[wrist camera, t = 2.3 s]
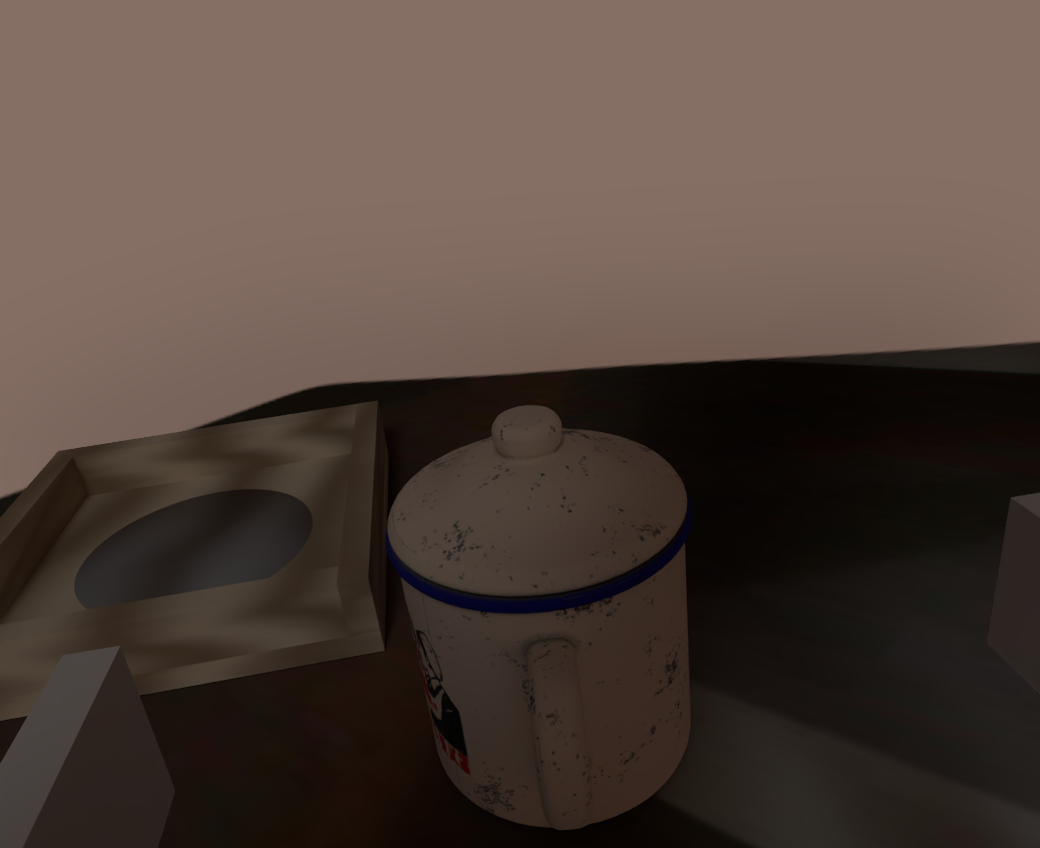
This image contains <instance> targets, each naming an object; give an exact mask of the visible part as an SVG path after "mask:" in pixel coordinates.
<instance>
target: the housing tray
mask: <svg viewBox="0 0 1040 848" xmlns="http://www.w3.org/2000/svg"><path fill="white" fill-rule="evenodd" d="M388 455H389V454H388V449H387V444H386V439H385V434H384V430H383V425H382V420H381V415H380V410H379V405H378V401H373V402H366V403H360V404H354V405H347V406H341V407H335V408H328V409H322V410H316V411H309V412H303V413H297V414H290V415H284V416H278V417H271V418H265V419H259V420H252V421H246V422H240V423H233V424H227V425H221V426H214V427H208V428H202V429H195V430H189V431H183V432H177V433H170V434H164V435H157V436H151V437H145V438H138V439H132V440H126V441H119V442H113V443H107V444H100V445H94V446H88V447H81V448H75V449H69V450H62V451H58V452H57V453H56V455H55V456H54V457H53V458H52V459H51V460H50V461H49V462H48V464H47V465H46V466H45V467H44V468H43V470H42V471H41V472H40V473H39V474H38V475H37V476H36V477H35V479H34V480H33V481H32V482H31V483H30V484H29V485H28V487H27V488H26V489H25V490H24V491H23V492H22V493H21V495H20V496H19V497H18V498H17V499H16V500H15V502H14V503H13V504H12V505H11V506H10V507H9V508H8V510H7V511H6V512H5V513H4V514H3V515H2V516H1V518H0V721H2V720H7V719H13V718H18V717H24V716H28V715H29V713H30V712H31V710H32V708H33V706H34V705H35V703H36V701H37V699H38V698H39V696H40V694H41V692H42V691H43V689H44V687H45V685H46V684H47V682H48V680H49V679H50V677H51V675H52V673H53V672H54V670H55V668H56V666H57V665H58V663H59V661H60V659H61V658H62V656H63V655H67V654H73V653H79V652H85V651H91V650H97V649H103V648H109V647H115V646H121V649H122V651H123V654H124V656H125V659H126V662H127V664H128V667H129V670H130V672H131V675H132V678H133V680H134V683H135V686H136V688H137V691H138V694H139V695H144V694H150V693H155V692H161V691H166V690H172V689H177V688H183V687H188V686H194V685H199V684H205V683H210V682H216V681H221V680H227V679H232V678H238V677H243V676H249V675H254V674H260V673H265V672H271V671H276V670H282V669H287V668H293V667H298V666H303V665H309V664H314V663H320V662H325V661H331V660H336V659H342V658H347V657H353V656H358V655H364V654H369V653H375V652H380V651H385V616H386V562H387V550H386V543H385V535H386V528H387V509H388Z"/></svg>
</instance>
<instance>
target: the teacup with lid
mask: <svg viewBox="0 0 1040 848" xmlns="http://www.w3.org/2000/svg"><path fill="white" fill-rule="evenodd" d="M691 524H692V506H691V501H690V498H689V495H688V493H687V492H686V490H685V487H684V484H683V482H682V480H681V479H680V477H679V475H678V474H677V473H676V471H675V470H674V469H673V468H672V466H671V465H670V464H669V463H668V462H667V461H666V460H665V459H664V458H662V457H661V456H660V455H658V454H657V453H656V452H654V451H652V450H651V449H649V448H647V447H645V446H643V445H641V444H639V443H637V442H634V441H631V440H629V439H626V438H623V437H620V436H616V435H612V434H607V433H602V432H596V431H588V430H577V429H565V428H562V425H561V420H560V418H559V417H558V415H557V414H556V413H555V412H554V411H552V410H551V409H549V408H547V407H543V406H536V405H526V406H519V407H515V408H512V409H509V410H507V411H504V412H503V413H501V414H500V415H499V416H498V417H497V418H496V420H495V421H494V423H493V426H492V437H490V438H488V439H485V440H481V441H478V442H475V443H472V444H469V445H467V446H464V447H461V448H459V449H457V450H454V451H452V452H450V453H448V454H446V455H444V456H442V457H440V458H438V459H437V460H435V461H433V462H432V463H430V464H429V465H427V466H426V467H424V468H423V469H422V470H421V471H419V472H418V473H417V474H416V475H414V476H413V477H412V478H411V479H410V480H409V481H408V482H407V484H406V485H405V486H404V487H403V488H402V490H401V491H400V493H399V494H398V496H397V497H396V499H395V501H394V503H393V506H392V508H391V511H390V514H389V517H388V524H387V528H386V535H385V543H386V550H387V554H388V557H389V559H390V562H391V564H392V566H393V567H394V569H395V570H396V572H397V573H398V574H399V575H400V576H401V580H402V585H403V590H404V595H405V599H406V604H407V609H408V614H409V618H410V623H411V628H412V632H413V637H414V642H415V647H416V651H417V656H418V661H419V666H420V670H421V675H422V680H423V685H424V689H425V694H426V699H427V704H428V708H429V713H430V718H431V723H432V727H433V732H434V737H435V742H436V746H437V750H438V754H439V757H440V760H441V762H442V765H443V767H444V769H445V771H446V773H447V775H448V776H449V778H450V779H451V781H452V782H453V783H454V785H455V786H456V787H457V788H458V789H459V790H460V791H461V792H462V793H463V794H464V795H465V796H466V797H467V798H468V799H470V800H471V801H472V802H473V803H475V804H476V805H478V806H479V807H481V808H482V809H484V810H486V811H488V812H490V813H492V814H494V815H496V816H498V817H501V818H503V819H506V820H509V821H513V822H516V823H520V824H525V825H530V826H538V827H552V828H554V829H557V830H569V829H578V828H582V827H585V826H586V825H588V824H592V823H596V822H600V821H603V820H606V819H609V818H612V817H615V816H617V815H620V814H622V813H624V812H626V811H628V810H630V809H632V808H634V807H636V806H637V805H639V804H640V803H642V802H643V801H645V800H646V799H648V798H649V797H650V796H652V795H653V794H654V793H655V792H656V791H658V790H659V789H660V788H661V787H662V786H663V785H664V784H665V783H666V781H667V780H668V779H669V778H670V776H671V775H672V774H673V773H674V771H675V769H676V768H677V766H678V764H679V763H680V761H681V759H682V757H683V755H684V752H685V750H686V747H687V743H688V739H689V734H690V724H691V712H690V683H689V653H688V624H687V595H686V565H685V541H686V539H687V536H688V534H689V532H690V528H691Z"/></svg>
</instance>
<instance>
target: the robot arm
mask: <svg viewBox="0 0 1040 848" xmlns="http://www.w3.org/2000/svg"><path fill="white" fill-rule="evenodd" d="M987 644H988V645H989V646H990V647H991V648H992V649H993V650H994V651H996V652H997V653H998V654H999V655H1000V656H1001V657H1002V658H1003V659H1004V660H1005V661H1006V662H1007V663H1008V664H1009V665H1010V666H1011V667H1012V668H1013V669H1014V670H1015V671H1016V672H1017V673H1018V674H1019V675H1020V676H1021V677H1022V678H1023V679H1024V680H1026V681H1027V682H1028V683H1029V684H1030V685H1031V686H1032V687H1033V688H1034V689H1035V690H1036V691H1037V692H1038V693H1039V694H1040V493H1036V494H1030V495H1024V496H1018V497H1012V498H1011V500H1010V506H1009V512H1008V518H1007V524H1006V530H1005V536H1004V542H1003V548H1002V554H1001V560H1000V567H999V573H998V579H997V585H996V591H995V597H994V603H993V609H992V615H991V621H990V627H989V633H988V639H987ZM174 793H175V789H174V787H173V784H172V781H171V779H170V776H169V773H168V771H167V768H166V765H165V763H164V760H163V757H162V755H161V752H160V749H159V747H158V744H157V741H156V739H155V736H154V734H153V731H152V728H151V726H150V723H149V720H148V718H147V715H146V712H145V710H144V707H143V704H142V702H141V699H140V696H139V694H138V691H137V688H136V686H135V683H134V680H133V678H132V675H131V672H130V670H129V667H128V664H127V662H126V659H125V656H124V654H123V651H122V649H121V646H115V647H109V648H103V649H97V650H91V651H85V652H79V653H73V654H67V655H63V656H62V658H61V659H60V661H59V663H58V665H57V666H56V668H55V670H54V672H53V673H52V675H51V677H50V679H49V680H48V682H47V684H46V685H45V687H44V689H43V691H42V692H41V694H40V696H39V698H38V699H37V701H36V703H35V705H34V706H33V708H32V710H31V712H30V713H29V715H28V717H27V719H26V720H25V722H24V724H23V726H22V727H21V729H20V731H19V732H18V734H17V736H16V738H15V739H14V741H13V743H12V745H11V746H10V748H9V750H8V752H7V753H6V755H5V757H4V759H3V760H2V762H1V764H0V848H158V844H159V841H160V838H161V835H162V831H163V828H164V825H165V822H166V818H167V815H168V812H169V809H170V806H171V802H172V799H173V796H174Z"/></svg>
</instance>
